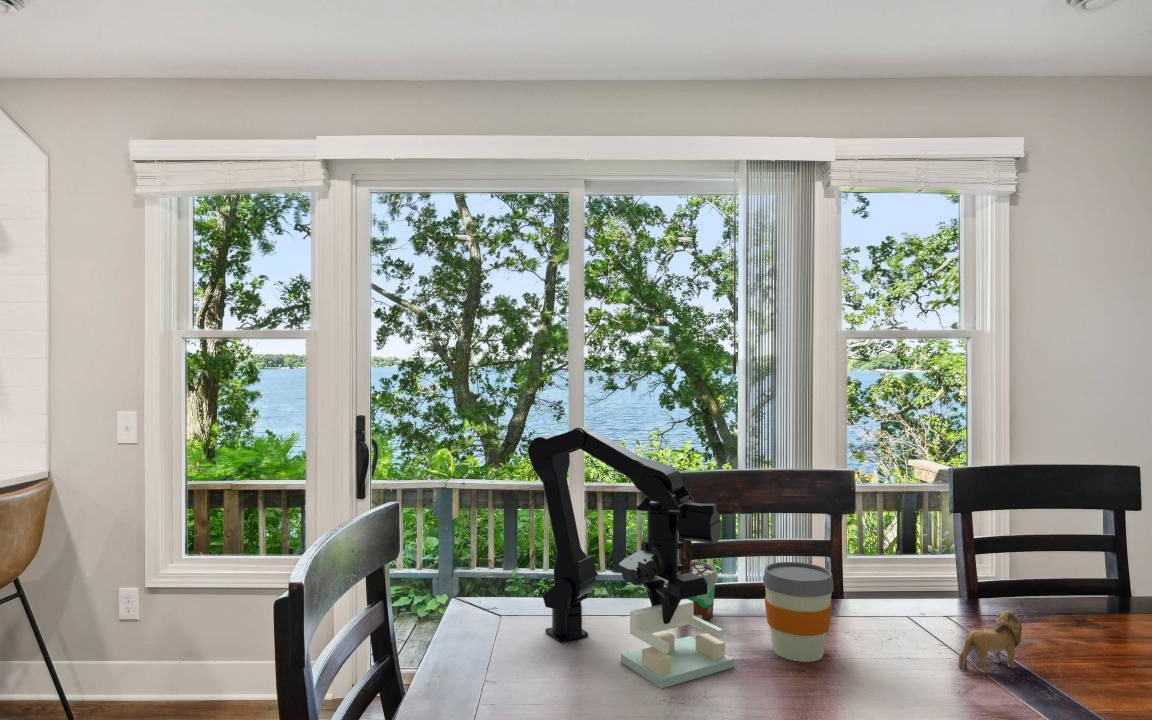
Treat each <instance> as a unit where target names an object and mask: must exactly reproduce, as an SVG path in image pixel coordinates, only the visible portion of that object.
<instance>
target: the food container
mask: <svg viewBox="0 0 1152 720" xmlns="http://www.w3.org/2000/svg"><path fill="white" fill-rule="evenodd" d="M688 573H694V574H696V575H699V576H701V577H704V578H705V579H706V580H707V582H708V593H707V594H704V595H699V596H694V597H690V598H687V599H688V600H690V601H692V602H694V616H696V617H698V618H700V619H702V620H704V621H706V622H709V621H711V620H712V619H713V615H714V602H715V590H716V589H715V588H716V587H715V586H716V583H717V582H718V581H719V577H718V571H717V570H716V567H715V566H714V565H711V564H709V563H707V562H702V561H696V560H690V561H689V572H688ZM710 619H711V620H710Z"/></svg>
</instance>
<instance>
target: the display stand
mask: <svg viewBox="0 0 1152 720" xmlns="http://www.w3.org/2000/svg"><path fill="white" fill-rule="evenodd" d="M652 634H653V635H655V636H657V637H659V638H661V639H662V640H664V641H666V642H668V643H669V652H668V653H663V652H661V651H659V650H658V649H656V648H654V647H652V646H651V645H649V646H644V647H641V648H637V649H634V650H630V651H629V650H628V651H625V652H621V653H620V663H622V665H625V666H627V668H629V669H631V670H632V671H633V672H635V673H637V674H639V675H640V676H642V677H643V678H645V679H646V680H647V681H649V682H651V683H653V684H654V685H655V686H656V687H659V688H660V689H664V688H668V687H672V686H675V685H678V684H682V683H685V682H688V681H691V680H695V679H699V678H702V677H705V676H709V675H713V674H716V673H719V672H722V671H725V670H729V669H733V668H734V667H735V658H733V657H732V656H729V654H726V643H725V641H723V640H721V639H717V638H715V637H713V636H711V635H709V634H707V633H705V632H704V633H701V634H698V635H695V637H693V636H691V635H689V636H684V637H679V638H676V639H675V635H674V634H673V633H670V632H669V631H667V630H664V631H660V632H656V633H652Z"/></svg>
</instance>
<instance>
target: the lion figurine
mask: <svg viewBox="0 0 1152 720" xmlns="http://www.w3.org/2000/svg"><path fill="white" fill-rule="evenodd" d="M996 615H997V618H996V621H995V627H994V629H992V630H988V631H984V630H978V629H977V630H976V629H975V630H971V631H969V632H968V633H967V634H966V637H965V642H964V646H963V649H962V651H961V653H960V654H959V655H958V656H959V657H958V668H960V669H962V670H961V671H962V672H963V673H967V670H968V663H967V662H968V655H970V653H971V652H973V650H975V651H976V654H977V655H978V666H979V667H980V668H981V669H982V671H983V673H985V674H988V675H989V674H993V671H992V669H990V668H989V667H987V666H986V660H987V656H988V652H989V653H993V655H992V656H993V657H992V661H993V662H994V663H996V664H1000V663H1001V661H1002V660H1001V656H1000V652H1003V651H1006V653H1007V659H1006V660H1007V661H1006V663H1007V666H1008V667H1009V668H1010V667H1011V669H1016V668H1017V665H1016V664H1015V663H1014V661H1015V655H1016V650H1015V649H1016V648H1017V647H1019V646H1020V644H1021V642H1022V635H1023V634H1022V633H1023V632H1022V630H1023V626H1022V619H1020V618H1019V617H1018V615H1017V613H1015V612H1013V611H1010V610H1005V609H1004V610H1003V611H1001V612H999V613H998V614H996ZM1015 667H1016V668H1015Z"/></svg>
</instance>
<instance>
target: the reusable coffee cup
mask: <svg viewBox="0 0 1152 720" xmlns="http://www.w3.org/2000/svg"><path fill="white" fill-rule="evenodd" d="M762 579H763V580H762V584H763V586H764V587H765V597H764V605H765V606H764V607H765V614H766V622H767V624H768V626H769V629H770V637H771V645H772V650H773V652H774V653H775V654H776V655H777V656H779V657H781V658H783V659H785V660H789V661H794V662H800V663H801V662H803V663H810V662H816V661H819V660H822V659H823V656H824V651H825V645H826V638H827V637H826V636H827V633H828V632H829V630H830V626H831V619H832V611H833V610H832V609H833V603H832V602H831V600H832V593H834V581H833V573H832V572H831V571H830V570H829V569H828V568H826V567H823V566H820V565H817V564H814V563H813V564H811V563H807V562H806V563H805V562H800V561H799V562H797V561H781V562H773V563H770V564H767V565H766V566H765V567H764V571H763V578H762Z"/></svg>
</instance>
